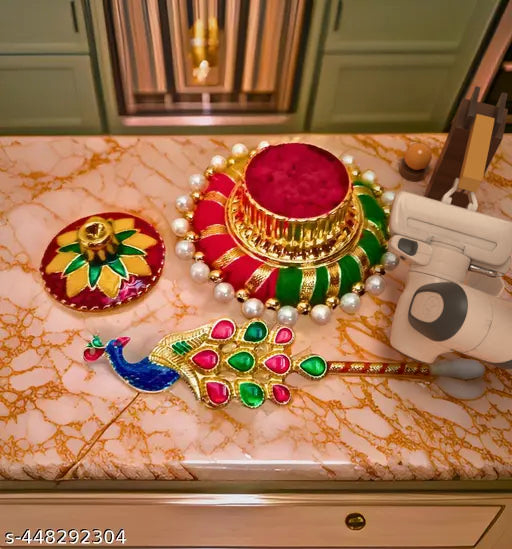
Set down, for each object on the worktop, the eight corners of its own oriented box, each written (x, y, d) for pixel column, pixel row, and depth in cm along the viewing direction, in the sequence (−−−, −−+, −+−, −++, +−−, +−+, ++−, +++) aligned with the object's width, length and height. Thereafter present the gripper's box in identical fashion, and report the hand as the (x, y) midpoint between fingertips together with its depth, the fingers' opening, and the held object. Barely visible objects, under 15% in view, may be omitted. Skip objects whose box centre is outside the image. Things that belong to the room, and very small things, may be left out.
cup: (489, 293, 109) (505, 269, 102) (487, 339, 104) (505, 317, 97) (451, 285, 110) (465, 261, 103) (448, 330, 104) (462, 308, 98)
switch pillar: (457, 226, 118) (509, 125, 95) (419, 215, 119) (461, 113, 96) (464, 198, 122) (514, 95, 99) (426, 188, 123) (468, 84, 101)
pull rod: (476, 193, 90) (482, 180, 88) (457, 187, 91) (462, 175, 89) (488, 130, 98) (495, 118, 96) (471, 126, 99) (476, 113, 96)
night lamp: (416, 158, 128) (425, 133, 122) (432, 176, 125) (441, 152, 119) (393, 166, 126) (401, 141, 120) (408, 184, 124) (417, 160, 117)
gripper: (510, 280, 88) (537, 195, 89) (381, 241, 92) (407, 159, 92) (499, 282, 95) (524, 203, 95) (378, 246, 98) (403, 169, 98)
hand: (466, 181), depth 94 cm, fingers closed
